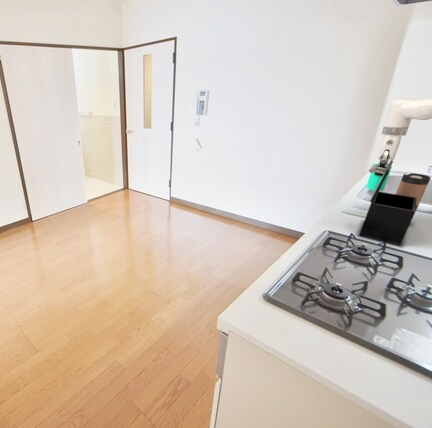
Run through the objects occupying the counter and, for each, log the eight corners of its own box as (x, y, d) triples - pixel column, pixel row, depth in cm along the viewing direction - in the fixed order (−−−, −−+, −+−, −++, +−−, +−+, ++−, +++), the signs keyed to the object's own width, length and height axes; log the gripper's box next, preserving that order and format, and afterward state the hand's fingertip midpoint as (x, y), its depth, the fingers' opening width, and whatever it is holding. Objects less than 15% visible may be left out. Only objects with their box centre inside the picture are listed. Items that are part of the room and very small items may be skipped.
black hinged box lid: (393, 160, 107) (375, 157, 110) (389, 170, 96) (370, 166, 99) (377, 190, 113) (361, 186, 116) (372, 202, 102) (355, 198, 105)
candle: (367, 185, 129) (375, 159, 124) (384, 187, 124) (394, 161, 120) (364, 188, 125) (373, 162, 120) (382, 191, 121) (392, 164, 116)
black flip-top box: (402, 229, 111) (416, 197, 105) (399, 246, 101) (415, 211, 95) (364, 221, 119) (376, 191, 113) (358, 235, 108) (370, 203, 103)
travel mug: (410, 227, 112) (431, 180, 104) (384, 222, 117) (403, 176, 109) (409, 220, 117) (430, 175, 109) (385, 215, 122) (403, 172, 114)
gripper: (405, 134, 107) (389, 179, 114) (407, 129, 118) (393, 170, 125) (379, 133, 112) (365, 177, 119) (383, 128, 123) (371, 168, 130)
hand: (379, 173), depth 122 cm, fingers closed on candle, 6 cm apart
